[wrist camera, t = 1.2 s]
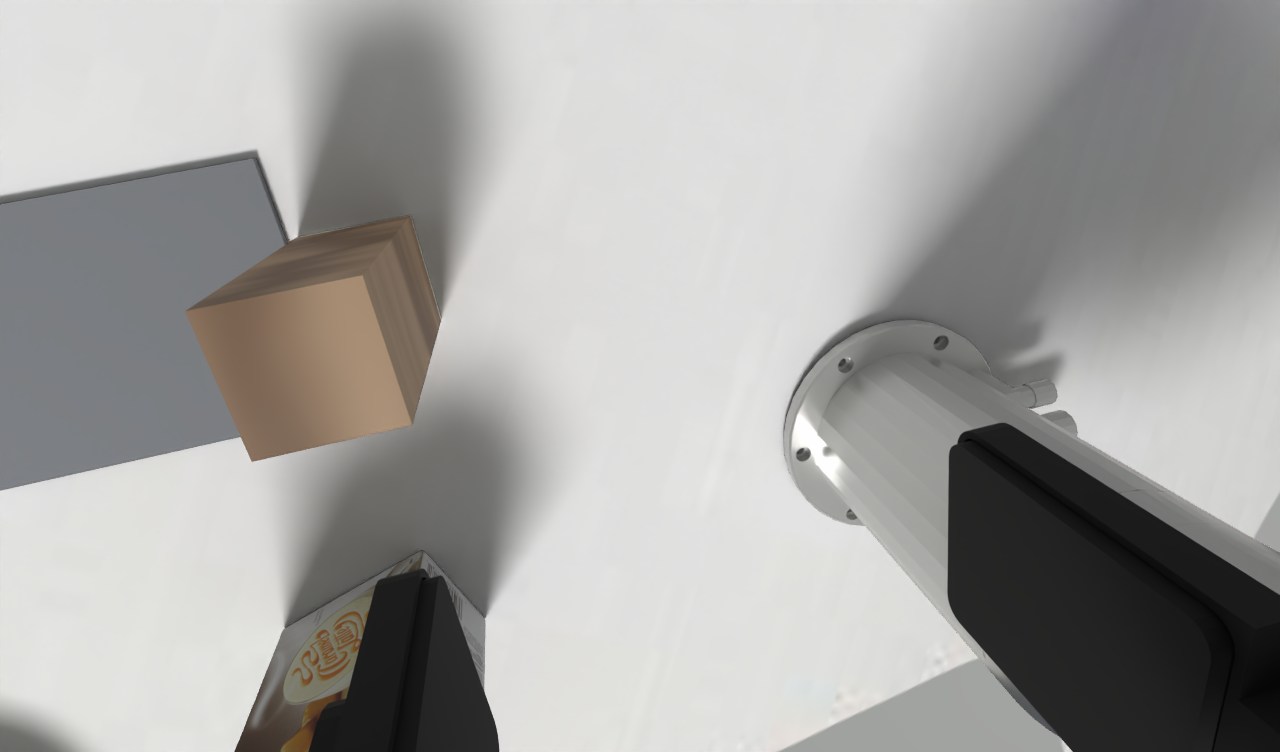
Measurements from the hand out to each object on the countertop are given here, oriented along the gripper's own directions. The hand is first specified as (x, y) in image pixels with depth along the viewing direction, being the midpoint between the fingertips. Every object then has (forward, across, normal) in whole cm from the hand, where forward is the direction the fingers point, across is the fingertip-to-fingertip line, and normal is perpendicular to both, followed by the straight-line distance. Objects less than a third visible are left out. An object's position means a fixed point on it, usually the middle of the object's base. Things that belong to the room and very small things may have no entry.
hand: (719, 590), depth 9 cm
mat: (+26, +20, 0) cm, 33 cm away
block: (+26, +9, 0) cm, 27 cm away
